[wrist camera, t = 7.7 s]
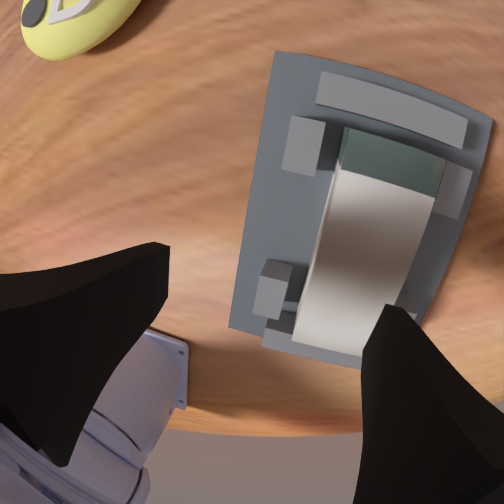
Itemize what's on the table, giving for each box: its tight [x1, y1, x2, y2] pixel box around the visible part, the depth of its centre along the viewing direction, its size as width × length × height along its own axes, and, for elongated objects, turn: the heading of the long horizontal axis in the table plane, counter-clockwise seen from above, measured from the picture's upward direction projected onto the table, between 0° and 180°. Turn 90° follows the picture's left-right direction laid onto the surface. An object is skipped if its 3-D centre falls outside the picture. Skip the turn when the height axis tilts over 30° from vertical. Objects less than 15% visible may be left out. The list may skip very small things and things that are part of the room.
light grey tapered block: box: [291, 127, 446, 357], centre depth 14 cm, size 10×4×4 cm, turn 170°
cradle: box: [228, 50, 493, 370], centre depth 15 cm, size 17×12×3 cm
